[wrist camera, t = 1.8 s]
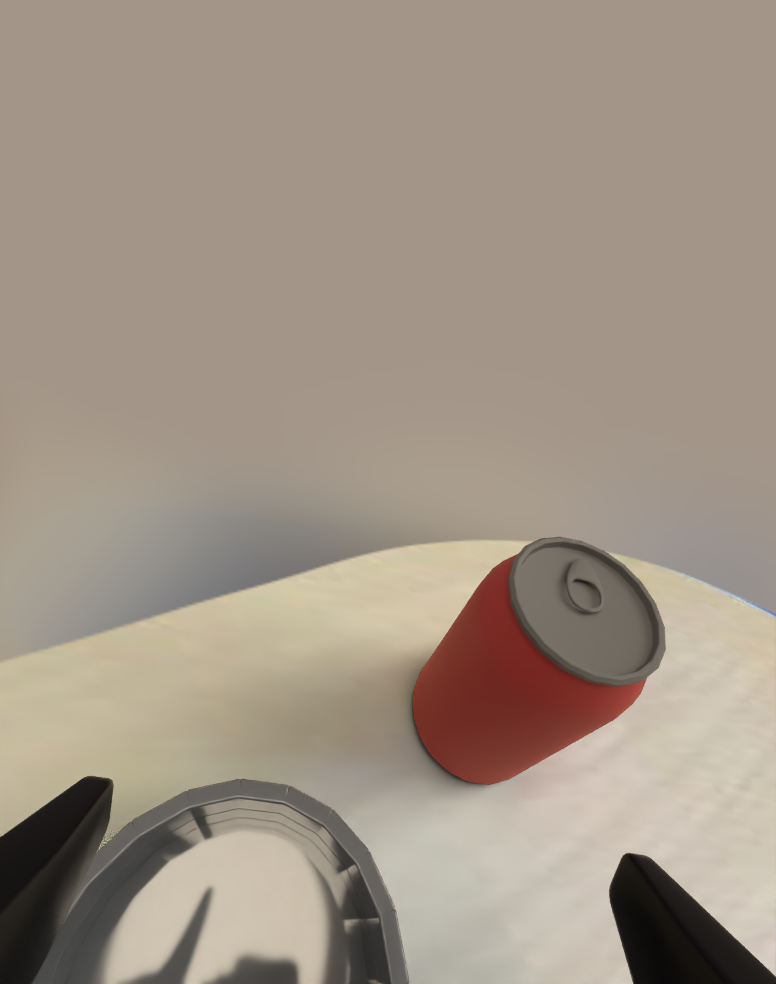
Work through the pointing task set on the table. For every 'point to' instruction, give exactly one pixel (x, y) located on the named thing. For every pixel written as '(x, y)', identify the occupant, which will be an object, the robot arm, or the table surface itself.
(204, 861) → the grey bowl
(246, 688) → the table surface
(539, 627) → the beer can
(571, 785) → the table surface
